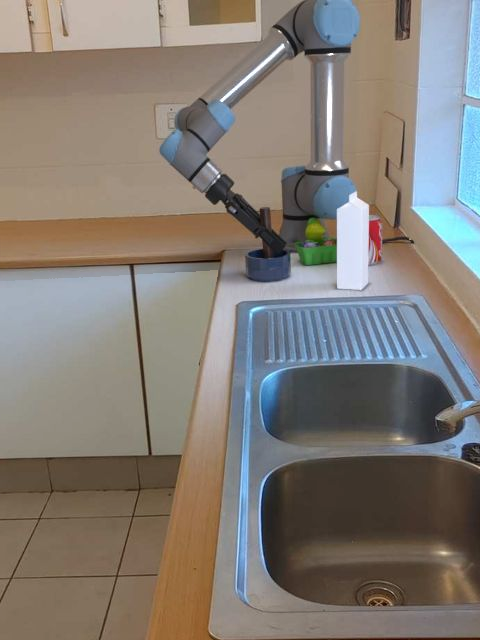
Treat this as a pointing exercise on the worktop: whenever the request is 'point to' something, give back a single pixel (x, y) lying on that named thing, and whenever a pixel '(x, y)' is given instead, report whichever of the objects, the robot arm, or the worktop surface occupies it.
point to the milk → (352, 244)
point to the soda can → (375, 240)
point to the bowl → (267, 265)
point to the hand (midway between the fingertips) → (282, 248)
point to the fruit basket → (316, 245)
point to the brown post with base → (266, 222)
